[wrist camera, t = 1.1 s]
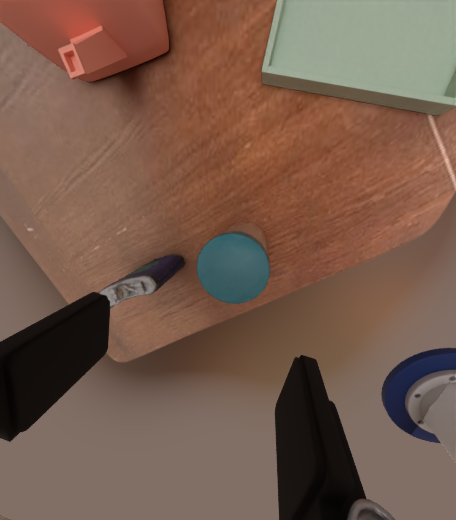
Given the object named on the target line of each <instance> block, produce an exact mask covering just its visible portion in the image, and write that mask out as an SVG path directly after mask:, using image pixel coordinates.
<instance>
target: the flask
mask: <svg viewBox="0 0 456 520" xmlns="http://www.w3.org/2000/svg"><path fill="white" fill-rule="evenodd" d="M185 263H186V262H185V261H184V258H183V257H182V256H181V255H179V254H171V255H168V256H164V257H160V258H158V259H155V260H154V261H152V262H150V263H148V264H146V265H144V266H142V267H140V268H139V269H137V270H136V271H134V272H132V273H130V274H128V275H127V276H125V277H123V278H121V279H119V280H118V281H116V282H114V283H112V284H110V285H109V286H107V287H106V288H104V289H103V290H101V291H100V292H98V293H100V294H103V295H106V296H107V297H108V300H110V308H111V307H113V306H115V305H118V303H119V302H121V301H124V300H126V299H129V298H132V297H135V296H139V295H149V294H153V293H154V292H155V291H157V290H158V289H159V288H160V287H161V286H162V285H163V284H164V283H165V282H167V280H169V279H170V278H171V277H172V276H173V275H174V274H175V273H177V272H178V271H179V270H180V269H181V268H183V266H184V264H185Z"/></svg>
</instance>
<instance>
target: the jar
mask: <svg viewBox="0 0 456 520" xmlns="http://www.w3.org/2000/svg"><path fill="white" fill-rule="evenodd" d="M228 231H241V232H245V233H248V234H250V235H252V236H254V237H255V238H256V239H258V240H259V241H260V242H261V243H262V245H263V246H264V248H265V249H266V251H267V254H268V241H267V237H266V235H265V233H264V232H263V230H262V229H261V228H260V227H259V226H257V225H255V224H253V223H250V222H238V223H235V224H233V225H231V226H230V227H229V228H227V229H226V230H225V231H223V232H222V233H224V232H228Z"/></svg>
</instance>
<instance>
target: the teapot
mask: <svg viewBox="0 0 456 520" xmlns="http://www.w3.org/2000/svg"><path fill="white" fill-rule="evenodd" d="M0 22H1V23H2V24H3V25H5V26H6V27H7V28H8V29H10V30H11V31H12V32H13V33H15V34H16V35H17V36H18V37H20V38H21V39H22V40H23V41H25V42H26V43H27V44H29V45H30V46H31V47H32V48H34V49H35V50H36V51H38V52H39V53H40V54H42V55H43V56H44V57H46V58H47V59H49V60H50V61H51V62H53V63H54V64H56V65H57V66H59V67H60V68H61V69H63V70H65V71H66V72H68V74H69V76H70V78H71V79H76V78H79V79H81V80H84V81H87V82H92V81H95V80H98V79H102V78H104V77H107V76H110V75H113V74H115V73H118V72H121V71H123V70H126V69H129V68H131V67H134V66H136V65H139V64H141V63H143V62H146V61H148V60H151V59H153V58H155V57H157V56H160V55H162V54H164V53H166V52H167V51H168V49H169V37H168V30H167V23H166V17H165V11H164V5H163V0H0Z"/></svg>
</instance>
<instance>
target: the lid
mask: <svg viewBox="0 0 456 520" xmlns="http://www.w3.org/2000/svg"><path fill="white" fill-rule="evenodd" d="M197 273H198V277H199V280H200V282H201V284H202V286H203V287H204V288H205V290H206V291H207V292H208V293H209V294H210V295H212V296H213V297H215V298H216V299H218V300H220V301H223V302H227V303H233V304H234V303H244V302H247V301H250V300H252V299H254V298H255V297H257V296H258V295H259V294H260V293H261V292H262V291H263V289H264V288H265V286H266V285H267V282H268V279H269V273H270V267H269V257H268V254H267V251H266V249H265V248H264V246H263V245H262V243H261V242H260V241H259V240H258V239H256V238H255V237H254V236H252V235H250V234H248V233H245V232H241V231H228V232H224V233H221V234H219V235H217V236H216V237H214V238H213V239H212V240H210V241H209V242H208V243H207V244H206V245H205V246H204V247H203V249H202V250H201V252H200V254H199V257H198V261H197Z"/></svg>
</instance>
